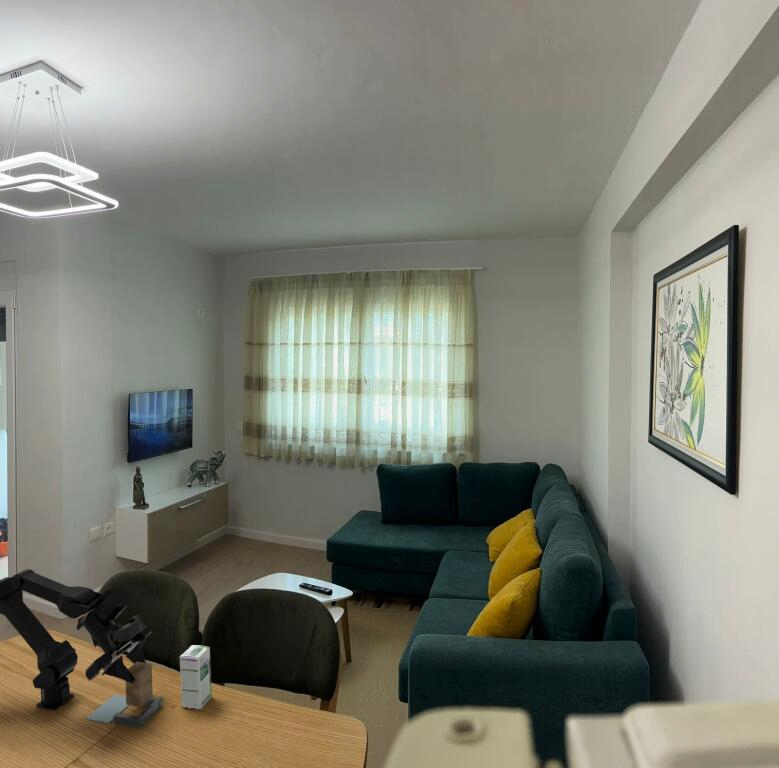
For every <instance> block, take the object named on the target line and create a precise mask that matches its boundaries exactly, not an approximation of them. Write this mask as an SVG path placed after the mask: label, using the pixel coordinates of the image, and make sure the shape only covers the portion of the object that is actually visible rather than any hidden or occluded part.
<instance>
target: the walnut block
mask: <svg viewBox="0 0 779 768" xmlns="http://www.w3.org/2000/svg"><path fill="white" fill-rule="evenodd" d="M127 669H128V670H129V672H130V673H131V674H132V676H133V677H134V679H135V681H134V682H133V683H130V682H127V681H125V697H126V705H129V706H131V707H137V708H143V707H144V706H143V705H144V704H145V703H146V702H147V701H149V700H150V699H151V698H152V697H154V695H153V692H154V691H153V664H152V663H148V662H146V663H143V662H136V663H135V664H134V663H133V664H132V665H131V666H130V667H128V668H127Z"/></svg>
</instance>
